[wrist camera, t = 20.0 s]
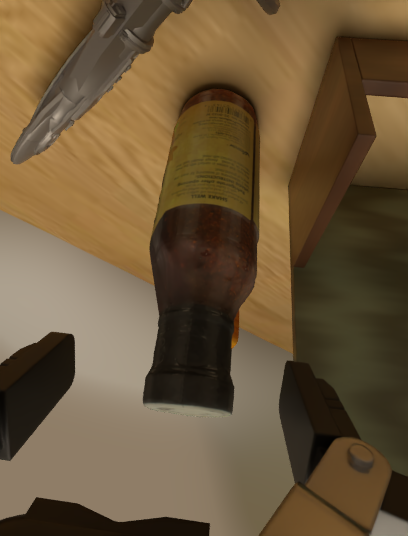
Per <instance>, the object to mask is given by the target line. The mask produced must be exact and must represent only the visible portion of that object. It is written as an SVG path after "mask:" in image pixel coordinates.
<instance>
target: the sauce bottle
mask: <svg viewBox="0 0 408 536" xmlns="http://www.w3.org/2000/svg"><path fill="white" fill-rule="evenodd" d="M259 161H260V135H259V129H258V125H257V119H256V116H255V112H254V110H253V107H252V106H251V105H250V104H249V102H248V101H246V99H244V98H242V97H241V96H240V95H237V94H235V93H233V92H231V91H229V90H225V89H210V90H207V91H202V92H200V93H199V94H197V95H194V96H193V97H192V98H191V99H189V100H188V102H187V103H186V104H185V106H184V108H183V110H182V113H181V115H180V117H179V119H178V121H177V123H176V125H175V128H174V133H173V137H172V143H171V147H170V151H169V156H168V161H167V166H166V169H165V174H164V177H163V183H162V190H161V194H160V197H159V203H158V208H157V213H156V218H155V220H154V227H153V231H152V236H151V241H150V257H151V264H152V270H153V277H154V284H155V290H156V297H157V303H158V310H159V321H158V327H159V329H158V334H157V340H156V346H155V351H154V357H153V364H152V367H151V369H150V371H149V373H148V374H147V376H146V379H145V387H144V392H143V394H144V395H143V404H144V406H146V407H147V408H150V409H152V410H156V411H162V412H168V413H174V414H181V415H187V416H197V417H226V416H230V415H231V414H232V411H233V400H234V386H233V382H232V379H231V376H230V370H231V351H232V348H231V346H232V335H233V333H234V319H235V317H236V315H237V313H238V310H239V308H240V306H241V305H242V304H243V303H244V302H245V300H246V298H247V297H248V296H249V294H250V293H251V292H252V289H253V288H254V284H255V278H256V275H257V243H258V240H259Z"/></svg>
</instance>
